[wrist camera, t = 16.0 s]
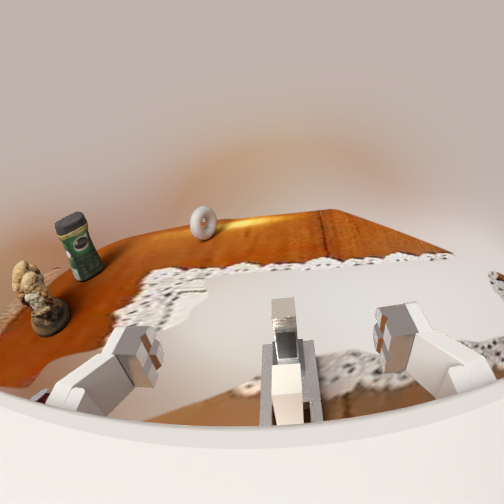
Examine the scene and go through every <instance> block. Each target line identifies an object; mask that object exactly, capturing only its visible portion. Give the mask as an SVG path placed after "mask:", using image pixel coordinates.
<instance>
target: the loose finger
mask: <svg viewBox="0 0 504 504" xmlns="http://www.w3.org/2000/svg"><path fill="white" fill-rule="evenodd" d="M271 396H272V401H273V407H274V412H275V418H276V423H277V425H290V424H302V423H304V420H303V399H302V382H301V368H300V363H296V364H284V365H272V389H271Z"/></svg>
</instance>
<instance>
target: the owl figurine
mask: <svg viewBox="0 0 504 504" xmlns="http://www.w3.org/2000/svg"><path fill="white" fill-rule="evenodd" d="M12 279H13V281H12V289H13V291H14V293H15V295H16V296H17V298H19V300H20V302H21V303H22V304H23V305H26V307H29V304H30V305H31V307H30V308H31V309H30V310H31V312H32V313H31V316H32V318H31V326H32V328H33V330H34V332H35V333H36V334H37V335H39V336H41V337H47V336H52V335H53V334H54V333H56V332H58V331H59V330H62V329H63V328H65V326H66V325H67V324H68V322H69V320H70V315H71V314H70V312H71V311H70V308H69V306H68V304H67V303H66V302H65V301H64V300H61V299H59V298H57V297H55V298H54V297H53V296H52V295H51V294H50V292H49V290H48V288H47V287H46V286H45V285H44V277H43V275H42V274H41V273H40V270H39V269H38V268H37V266H36V265H35V264H28V262H26V261H20V262H19V263H18V264H17V265H16V266H15V268H14V269H13V272H12ZM68 310H69V311H68ZM67 311H68V312H67ZM46 317H47V318H46Z"/></svg>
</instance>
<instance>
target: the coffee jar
mask: <svg viewBox="0 0 504 504" xmlns="http://www.w3.org/2000/svg"><path fill="white" fill-rule="evenodd" d="M55 229H56V232H57V236H58V238H59V239H60V240H61V241H62V243H63V245H64V248H65V250H66V253H67V256H68V259H69V263H70V266H71V269H72V272H73V275H74V277H75V279H76V280H78V281H86V280H88V279H90V278H91V277H93V276H94V275H96V274H97V273H99V272H100V271H102V270H103V267H104V265H103V263H102V261H101V259H100V257H99V255H98V253H97V251H96V249H95V247H94V245H93V243H92V241H91V238H90V236H89V232H88V223H87V221H86V219H85V217H84V215H83V213H81V212H75V213H73V214H71V215H69V216H67V217H65V218H63V219H61V220H59V221H58V222H56V223H55Z"/></svg>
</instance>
